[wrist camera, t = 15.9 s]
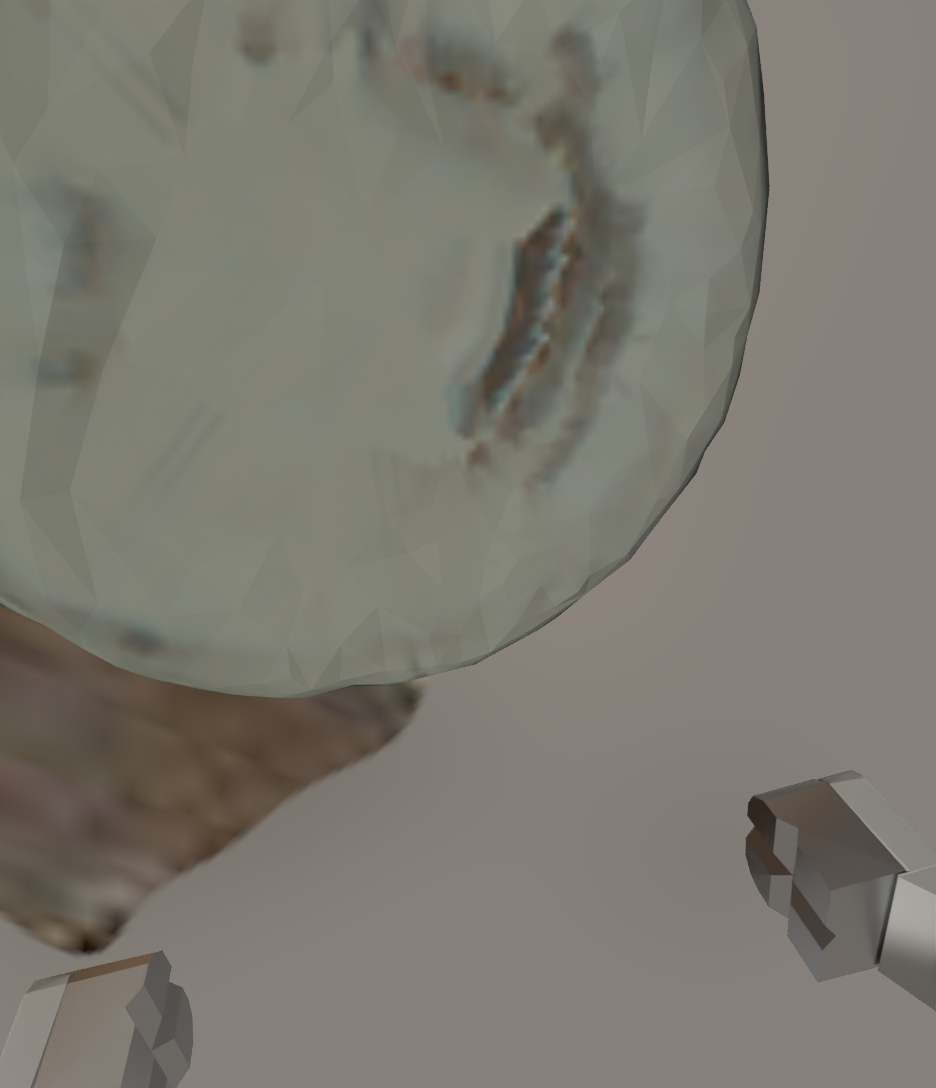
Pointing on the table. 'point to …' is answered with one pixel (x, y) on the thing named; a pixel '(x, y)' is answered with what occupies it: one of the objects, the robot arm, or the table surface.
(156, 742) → the table surface
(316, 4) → the sauce bottle
